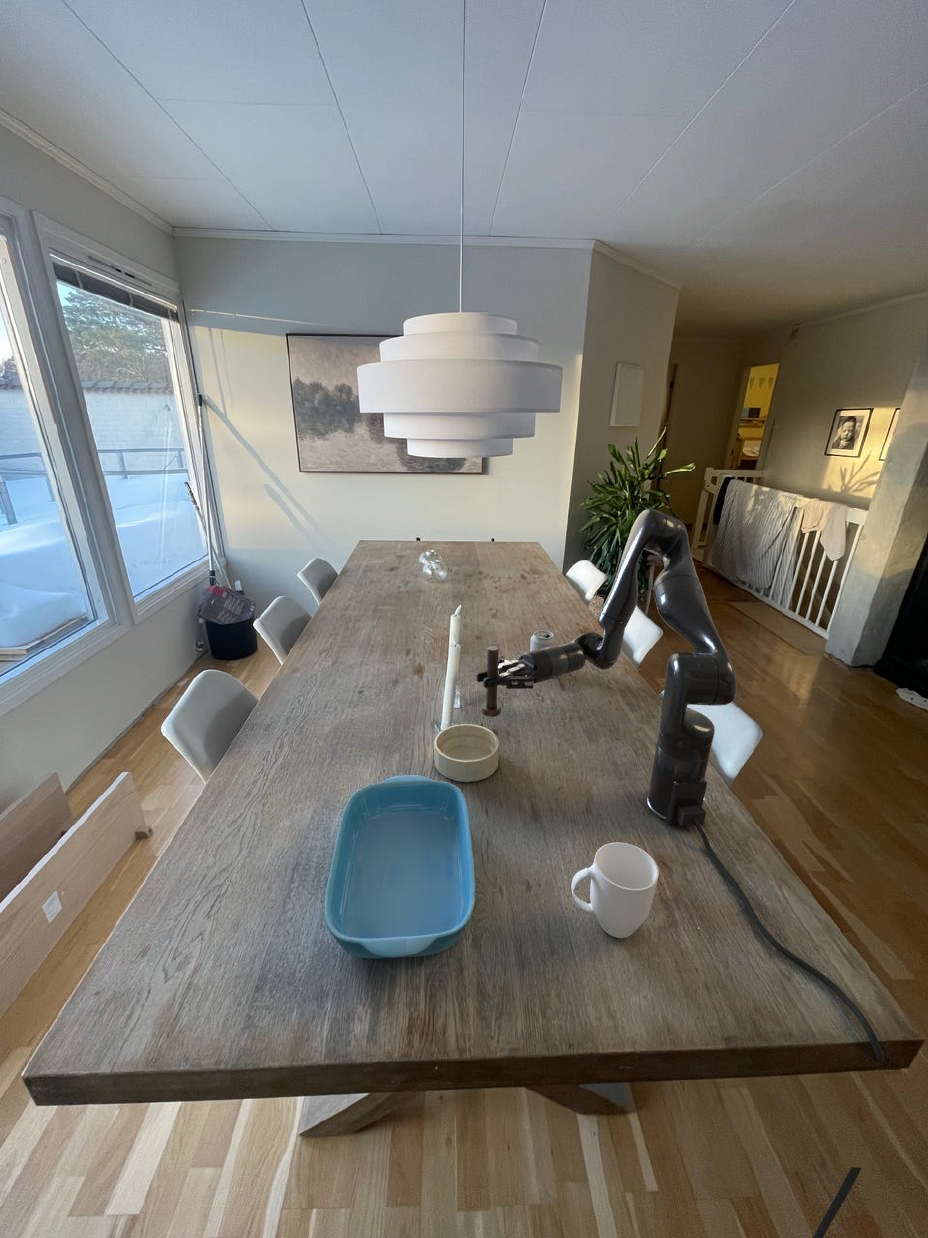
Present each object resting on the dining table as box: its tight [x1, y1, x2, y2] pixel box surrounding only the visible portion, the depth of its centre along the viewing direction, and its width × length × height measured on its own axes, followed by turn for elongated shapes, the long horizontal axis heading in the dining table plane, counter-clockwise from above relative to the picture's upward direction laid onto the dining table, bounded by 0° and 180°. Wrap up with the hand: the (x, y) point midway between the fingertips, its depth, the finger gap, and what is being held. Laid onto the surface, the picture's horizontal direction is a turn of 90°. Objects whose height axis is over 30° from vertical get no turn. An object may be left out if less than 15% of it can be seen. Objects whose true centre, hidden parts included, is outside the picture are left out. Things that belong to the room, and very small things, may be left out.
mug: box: [570, 841, 660, 939], centre depth 76 cm, size 12×9×12 cm
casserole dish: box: [323, 774, 476, 959], centre depth 84 cm, size 37×22×7 cm, turn 4°
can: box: [529, 630, 557, 651], centre depth 155 cm, size 8×8×12 cm
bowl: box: [433, 723, 500, 783], centre depth 114 cm, size 14×14×6 cm
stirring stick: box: [481, 645, 502, 718], centre depth 115 cm, size 4×4×16 cm
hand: (481, 680), depth 113 cm, fingers closed on stirring stick, 2 cm apart
